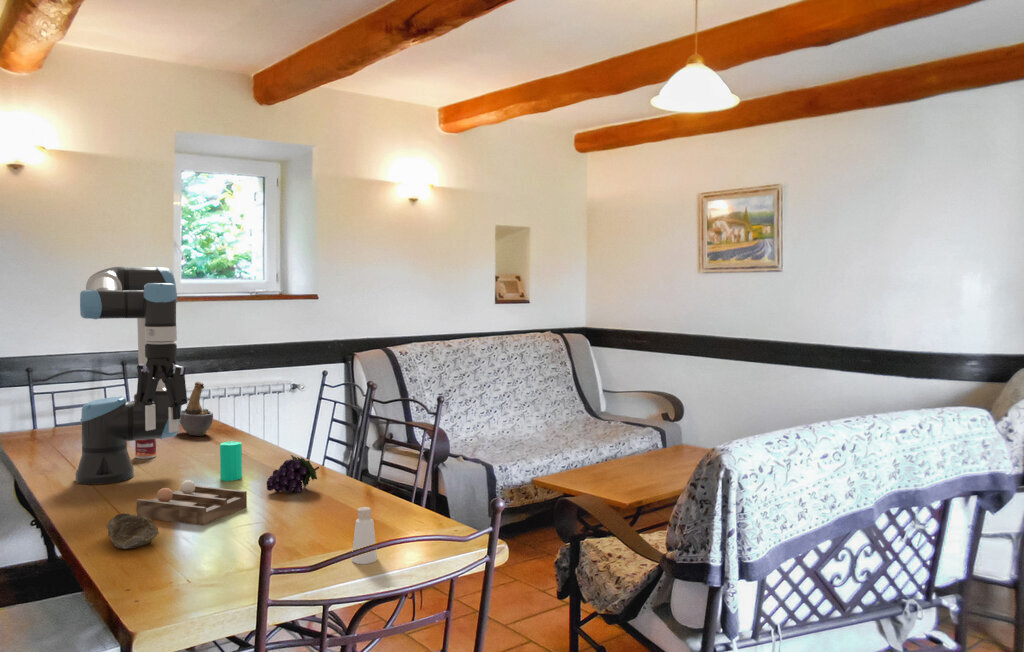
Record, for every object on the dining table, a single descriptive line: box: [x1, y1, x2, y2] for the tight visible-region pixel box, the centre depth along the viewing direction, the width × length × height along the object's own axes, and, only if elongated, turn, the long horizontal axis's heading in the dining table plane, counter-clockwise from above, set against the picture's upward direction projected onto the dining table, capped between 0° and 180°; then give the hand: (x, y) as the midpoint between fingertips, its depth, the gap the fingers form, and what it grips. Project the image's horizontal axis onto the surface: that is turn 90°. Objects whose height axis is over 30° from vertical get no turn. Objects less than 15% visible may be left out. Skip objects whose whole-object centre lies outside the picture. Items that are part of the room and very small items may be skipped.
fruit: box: [266, 454, 320, 494], centre depth 214 cm, size 10×11×15 cm
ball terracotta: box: [156, 487, 173, 502], centre depth 192 cm, size 4×4×4 cm
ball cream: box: [179, 479, 196, 494], centre depth 199 cm, size 4×4×4 cm
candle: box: [219, 440, 243, 482], centre depth 227 cm, size 6×6×12 cm
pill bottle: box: [134, 439, 157, 460], centre depth 254 cm, size 6×6×11 cm
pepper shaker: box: [351, 506, 378, 565], centre depth 162 cm, size 5×5×11 cm
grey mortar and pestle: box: [180, 381, 214, 437], centre depth 291 cm, size 15×17×20 cm
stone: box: [105, 512, 160, 550], centre depth 171 cm, size 13×8×8 cm
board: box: [135, 484, 248, 527], centre depth 194 cm, size 20×16×4 cm
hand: (162, 430), depth 201 cm, fingers open, 7 cm apart
